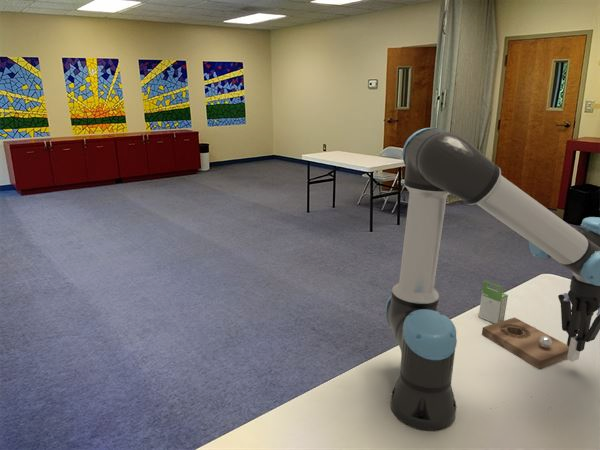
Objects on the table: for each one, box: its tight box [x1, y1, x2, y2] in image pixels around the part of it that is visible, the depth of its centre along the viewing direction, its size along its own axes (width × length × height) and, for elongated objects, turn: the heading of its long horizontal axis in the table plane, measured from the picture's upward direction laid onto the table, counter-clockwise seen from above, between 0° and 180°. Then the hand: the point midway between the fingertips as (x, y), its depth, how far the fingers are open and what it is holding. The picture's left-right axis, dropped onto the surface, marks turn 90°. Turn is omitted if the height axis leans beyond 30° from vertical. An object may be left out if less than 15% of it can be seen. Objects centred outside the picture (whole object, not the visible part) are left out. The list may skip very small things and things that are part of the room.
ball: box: [539, 336, 552, 348], centre depth 131 cm, size 3×3×3 cm
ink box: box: [478, 280, 509, 324], centre depth 150 cm, size 7×4×13 cm, turn 37°
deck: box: [481, 317, 569, 370], centre depth 137 cm, size 20×14×2 cm
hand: (572, 358), depth 124 cm, fingers closed
